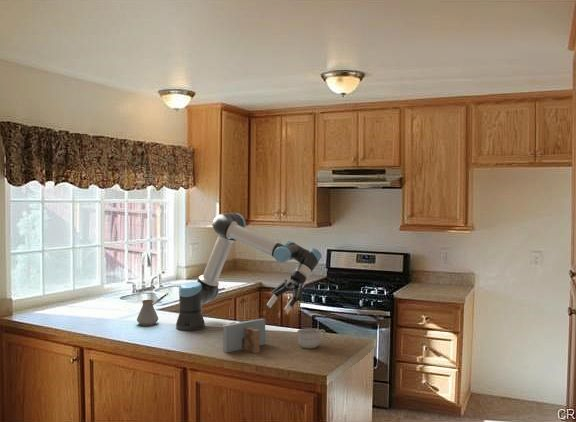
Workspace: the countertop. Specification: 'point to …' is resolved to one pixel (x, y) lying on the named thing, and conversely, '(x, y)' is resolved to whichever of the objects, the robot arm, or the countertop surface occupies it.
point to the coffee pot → (148, 312)
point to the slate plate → (241, 334)
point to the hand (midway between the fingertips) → (276, 308)
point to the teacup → (310, 337)
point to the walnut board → (251, 339)
